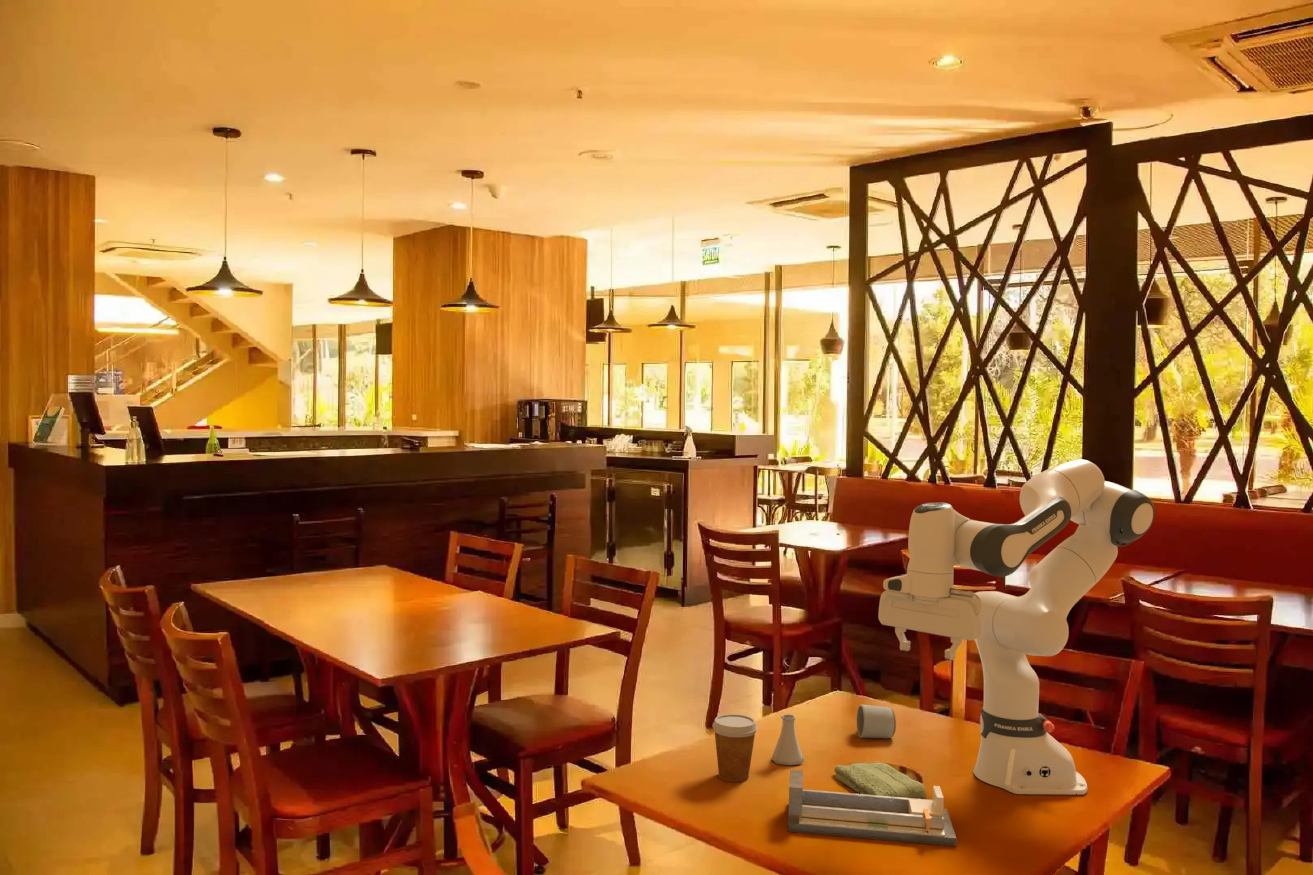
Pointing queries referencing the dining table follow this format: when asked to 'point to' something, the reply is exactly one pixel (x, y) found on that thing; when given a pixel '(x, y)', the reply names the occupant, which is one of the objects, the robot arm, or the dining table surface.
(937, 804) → the cream corner bracket
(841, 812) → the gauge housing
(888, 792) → the washcloth
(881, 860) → the dining table surface
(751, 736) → the disposable coffee cup
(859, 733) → the ceramic mug
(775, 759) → the flask
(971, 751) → the dining table surface
